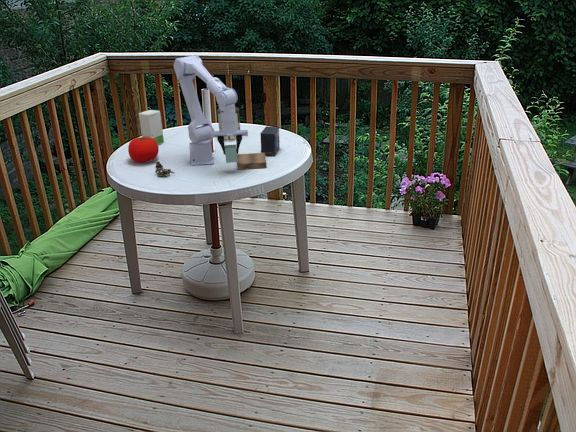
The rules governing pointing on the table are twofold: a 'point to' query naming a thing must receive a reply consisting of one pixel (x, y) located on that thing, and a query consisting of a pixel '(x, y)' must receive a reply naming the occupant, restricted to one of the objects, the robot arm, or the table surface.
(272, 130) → the small box
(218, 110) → the coffee can
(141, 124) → the skincare box
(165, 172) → the gnarled brown figurine
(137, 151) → the tomato
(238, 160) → the walnut slab
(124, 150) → the table surface
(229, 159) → the teal block
